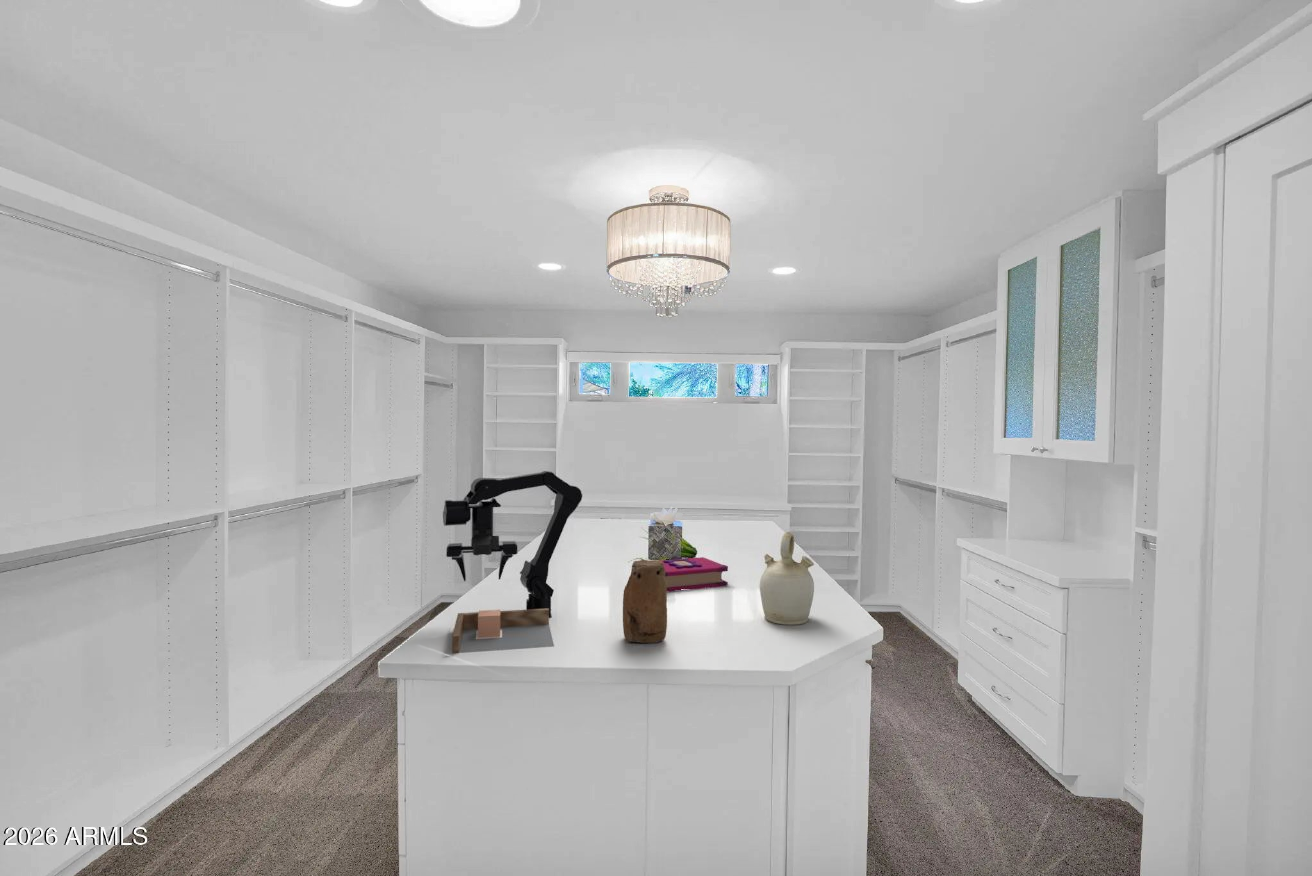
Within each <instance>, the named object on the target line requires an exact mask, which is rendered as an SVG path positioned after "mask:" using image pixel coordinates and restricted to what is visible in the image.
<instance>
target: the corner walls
mask: <svg viewBox="0 0 1312 876" xmlns="http://www.w3.org/2000/svg"><path fill="white" fill-rule="evenodd" d="M478 613H479V611H476V612H460V613H459V612H458V613H457V617H456V619H455V620H456V621H455V624H454V628H453V631H452V637H451V641H452V643H451V645H452V646H451V647H452V648H451V650H452V654H460V653H459V649H460V644H461V639H462V634H463V630H464V629H478ZM547 624H549V625H550V618H549V608H546V609H528V610H526V609H514V610H513V609H512V610H500V627H513V626H530V625H547Z"/></svg>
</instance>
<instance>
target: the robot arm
mask: <svg viewBox="0 0 1312 876" xmlns="http://www.w3.org/2000/svg"><path fill="white" fill-rule="evenodd" d="M542 486H545V487H546V488H548V489H549V490H550V492H551V493H553V494H555V499H554V505H553V506H554V507H553V513H552V515H551V518H550V520H549V522H548V525H547V527H546V529H545V531H544V534H543V537H542V538H541V541H540V544H539V545H538V548H537V550H536V553H535V555H534V557H533V558H532V559H531V560H530V561H528V560H525V561H524V564H523V567H522V570H521V571H520V572H519V574H520V577H519V578H520V579H519V580H520V583H521V585H522V586H523V587H524V588H525V589H526V590H527V593H528V596H527V597H528V598H527V599H526V600H525V603H526V604H525V610H528V609H546V608H549V619H551V618H552V597H553V594H554V591H555V590H554V589H553V588H552V587H551V586H550V584H548V583H547V580H548V576H549V566H550V565H549V564H550V561H551V559H552V556H553V554H554V552H555V549H556V546H557V545H558V542H559V540H560V538H561V535H562V533H563V531H564V527H566V526H565V525H566V524H567V521H568V519H569V517H571V515H572V514H573V513H574V512H575V511H576V509H577V508H578V506H579V505H580V503H581V501H582V499H583V493H582V490H581V489H580V488H579V487H578V486H575V485H571V484H569V483H568V482H566V481H564V479H561V478H560V477H558V475H556V474H555V473H554V472H552V471H549V470H543V471H541V472H536V473H535V472H534V473H529V474H524V475H523V474H521V475H518V476H517V475H516V476H510V477H504V478H502V477H501V478H499V477H479V478H476V479H474V480H473V481H472V483H471V485H470V490H469V491H468V493H467V494H466V495H465V496H464V498H462V500H461V499H460V500H451V499H447V500H446V499H445V500H444V505H443V511H442V522H443V523H442V524H443V526H444V527H446V526H465V525H467V523H468V522H470V521H471V543H470V545H464V546H463V543H462V542H458V543H452V542H451V543H448V545H447V546H446V554H445V555H446V557H447V558H451V560H452V561H455V562H456V563H457V565H458V567H459V570H460V573H461V575H462V579H463V582H466V581H467V580H466V577H467V575H466V566H465V558H464V557H465V556H464V554H472V555H474V556H481V555H486V556H490V555H492V553H494V552H495V553H497V552H499V553H500V557H499V558H500V559H499V568H498V580H501V578H502V575H503V572H504V568H505V566H506V563H507V562H508V560H509V558H513V555H518V544H517V542H516V541H512V540H511V541H509V540H508V541H502V544H500V535H494V508H501V506H502V505H501V504H500V503H499V502H498V501H497V499H496V497H499V496H500V495H503V494H505V493H508V492H513V491H514V492H515V491H520V490H526V489H531V488H537V487H542Z"/></svg>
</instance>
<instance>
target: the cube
mask: <svg viewBox="0 0 1312 876" xmlns="http://www.w3.org/2000/svg"><path fill="white" fill-rule="evenodd" d="M500 611H501V609H487V610H485V609H484V610H479V611H478V612H479V613H478V638H488V637H500Z"/></svg>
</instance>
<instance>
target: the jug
mask: <svg viewBox="0 0 1312 876" xmlns="http://www.w3.org/2000/svg"><path fill="white" fill-rule="evenodd" d="M794 536H795V535H794V534H793V533H792V532H789V531H787V532H785V533H783V535H782V538H781V542H780V550H779V552H780V556H781V558H780V559H779V560H774V557H772V556H771V555H769V554H767V553H765V555H764V556H763V557H764V560H765V561H764V563H765V565H766V568H765V569H764V570H763V572H762V574H761V576H760V580H759V592H760V600H761V605H762V610H763V611H762V612H763V614H764V619H765V620H767V621H768V622H770V623H773V624H778V625H786V626H788V625H789V626H793V625H794V626H796V625H803V624H806V623H807V622H808V621H809V617H810V613H811V608H812V604H813V600H814V595H815V582H814V579H813V576H812V574H811V572H810V570H809V568H811V567H813V566H814V565H815V562H814V561H812V560H811V559H810V558H809V557H807V556H804V555H803V556H801V560H800V562H797V561H796V560H794V558H793V554H794V549H795V537H794Z"/></svg>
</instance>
